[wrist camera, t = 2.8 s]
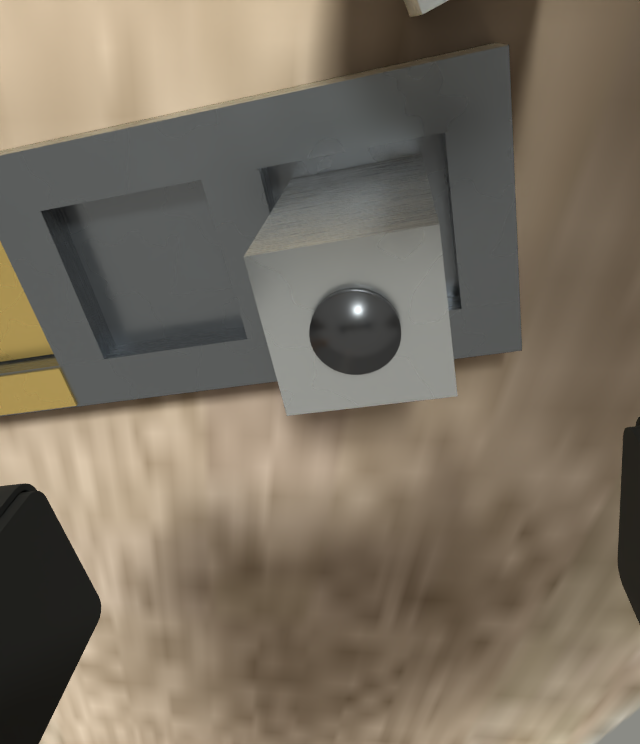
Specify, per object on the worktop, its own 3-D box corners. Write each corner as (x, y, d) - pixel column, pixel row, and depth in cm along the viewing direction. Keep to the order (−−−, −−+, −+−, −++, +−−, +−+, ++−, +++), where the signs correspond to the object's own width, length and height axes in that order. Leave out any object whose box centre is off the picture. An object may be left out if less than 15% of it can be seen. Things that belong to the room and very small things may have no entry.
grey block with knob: (421, 154, 20) (440, 227, 13) (435, 280, 22) (459, 402, 15) (290, 179, 21) (240, 261, 14) (317, 297, 23) (285, 422, 16)
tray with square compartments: (496, 42, 19) (509, 45, 17) (510, 322, 24) (522, 351, 22) (-174, 188, 24) (-229, 205, 22) (-50, 397, 29) (-85, 428, 27)
